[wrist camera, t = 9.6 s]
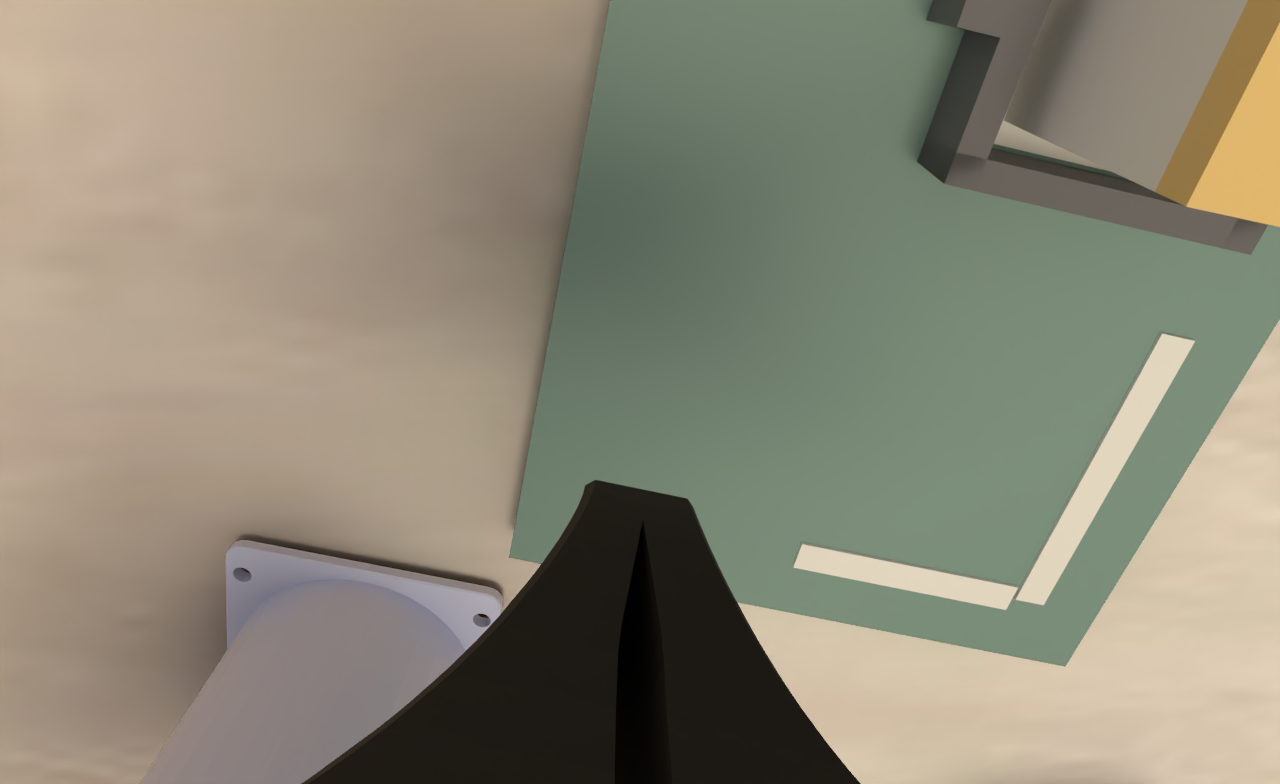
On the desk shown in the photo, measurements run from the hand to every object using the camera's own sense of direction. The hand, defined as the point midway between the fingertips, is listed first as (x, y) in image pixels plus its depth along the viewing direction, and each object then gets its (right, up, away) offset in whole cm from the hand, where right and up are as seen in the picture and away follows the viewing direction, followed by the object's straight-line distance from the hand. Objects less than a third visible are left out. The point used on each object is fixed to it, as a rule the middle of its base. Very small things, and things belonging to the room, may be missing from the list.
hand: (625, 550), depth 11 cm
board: (+7, +6, +8) cm, 12 cm away
